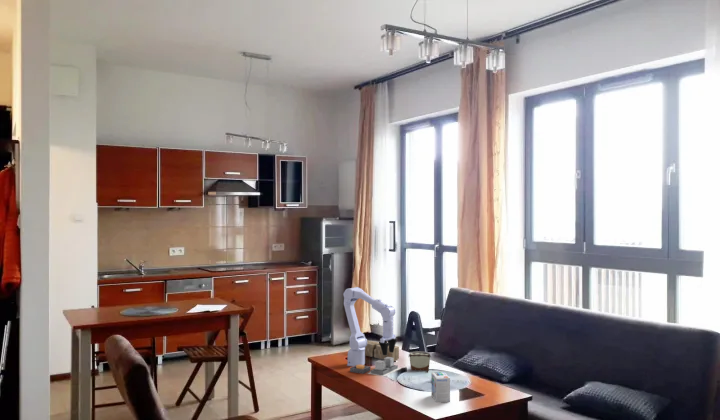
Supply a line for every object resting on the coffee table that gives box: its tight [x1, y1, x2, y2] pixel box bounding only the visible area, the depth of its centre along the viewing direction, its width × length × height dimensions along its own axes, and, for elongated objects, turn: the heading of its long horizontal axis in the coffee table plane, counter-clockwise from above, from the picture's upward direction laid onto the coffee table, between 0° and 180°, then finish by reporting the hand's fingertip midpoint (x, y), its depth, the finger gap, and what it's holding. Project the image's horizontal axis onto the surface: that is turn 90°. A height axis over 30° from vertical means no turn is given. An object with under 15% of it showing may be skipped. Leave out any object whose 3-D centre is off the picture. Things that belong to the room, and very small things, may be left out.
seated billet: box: [374, 359, 385, 372], centre depth 301 cm, size 4×4×6 cm
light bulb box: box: [430, 371, 451, 403], centre depth 259 cm, size 11×7×11 cm, turn 5°
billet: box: [383, 357, 395, 368], centre depth 309 cm, size 4×4×6 cm
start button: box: [355, 364, 365, 369], centre depth 305 cm, size 4×4×3 cm
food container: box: [408, 350, 432, 372], centre depth 309 cm, size 12×6×10 cm, turn 84°
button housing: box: [349, 365, 371, 375], centre depth 305 cm, size 8×8×3 cm
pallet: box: [366, 364, 402, 377], centre depth 305 cm, size 11×19×2 cm, turn 149°
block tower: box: [365, 340, 400, 362], centre depth 343 cm, size 8×8×29 cm
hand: (388, 353), depth 309 cm, fingers open, 7 cm apart
